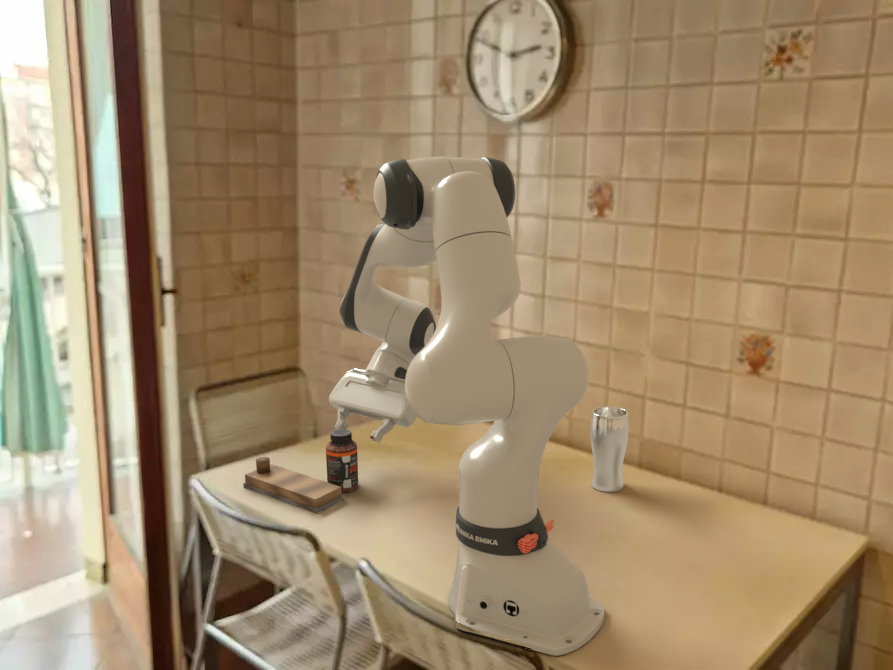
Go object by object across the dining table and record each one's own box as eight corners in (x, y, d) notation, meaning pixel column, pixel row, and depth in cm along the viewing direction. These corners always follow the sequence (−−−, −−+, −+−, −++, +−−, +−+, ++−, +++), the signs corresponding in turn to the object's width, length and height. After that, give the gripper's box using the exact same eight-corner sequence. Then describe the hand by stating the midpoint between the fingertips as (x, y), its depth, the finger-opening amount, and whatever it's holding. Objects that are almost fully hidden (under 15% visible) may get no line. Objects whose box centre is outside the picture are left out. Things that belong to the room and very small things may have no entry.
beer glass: (623, 478, 162) (626, 406, 159) (627, 494, 156) (631, 418, 152) (587, 477, 163) (590, 405, 160) (590, 492, 156) (592, 417, 153)
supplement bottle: (356, 494, 157) (354, 437, 154) (325, 494, 157) (322, 438, 154) (360, 481, 163) (358, 426, 160) (330, 481, 163) (327, 426, 160)
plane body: (344, 500, 154) (342, 475, 153) (317, 513, 149) (315, 487, 148) (271, 475, 166) (269, 451, 165) (243, 487, 161) (241, 462, 159)
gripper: (341, 359, 170) (309, 417, 165) (419, 375, 158) (387, 438, 153) (357, 374, 174) (326, 432, 169) (434, 391, 162) (403, 453, 157)
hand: (356, 435), depth 161 cm, fingers open, 8 cm apart
